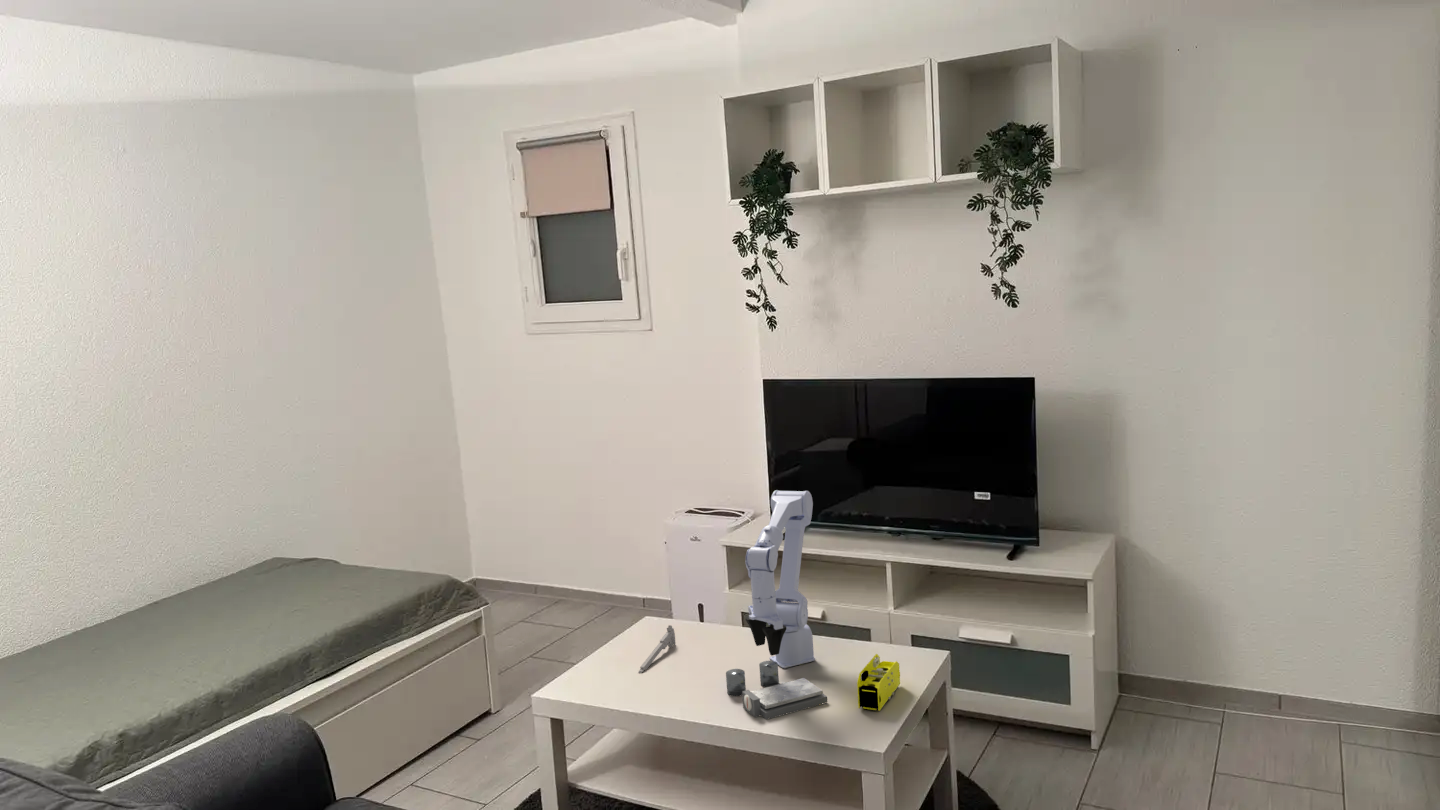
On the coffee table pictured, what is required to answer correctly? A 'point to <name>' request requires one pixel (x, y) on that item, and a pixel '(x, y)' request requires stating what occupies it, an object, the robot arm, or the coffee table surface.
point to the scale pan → (786, 693)
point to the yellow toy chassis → (877, 683)
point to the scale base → (756, 709)
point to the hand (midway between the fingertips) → (767, 649)
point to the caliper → (660, 647)
